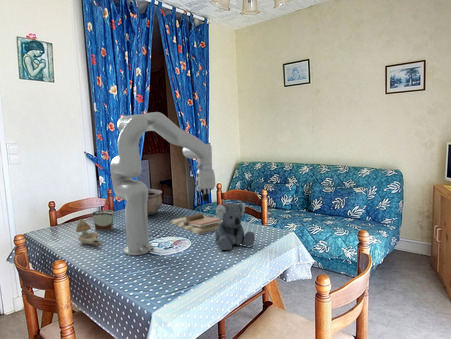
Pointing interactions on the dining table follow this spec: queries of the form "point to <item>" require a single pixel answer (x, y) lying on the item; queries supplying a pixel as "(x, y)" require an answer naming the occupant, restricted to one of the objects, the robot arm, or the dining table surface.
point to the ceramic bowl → (153, 201)
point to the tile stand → (196, 229)
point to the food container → (103, 219)
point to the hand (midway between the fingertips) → (205, 201)
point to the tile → (204, 221)
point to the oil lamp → (86, 234)
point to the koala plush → (232, 227)
